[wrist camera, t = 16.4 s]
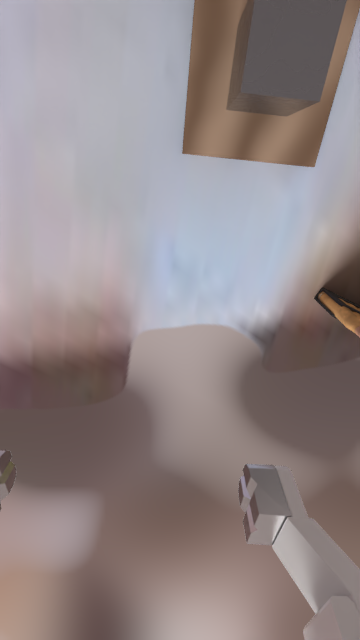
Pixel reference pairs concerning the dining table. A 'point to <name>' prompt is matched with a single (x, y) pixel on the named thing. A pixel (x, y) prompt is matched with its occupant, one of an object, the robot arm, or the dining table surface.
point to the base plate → (243, 127)
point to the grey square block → (283, 54)
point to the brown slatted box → (340, 309)
